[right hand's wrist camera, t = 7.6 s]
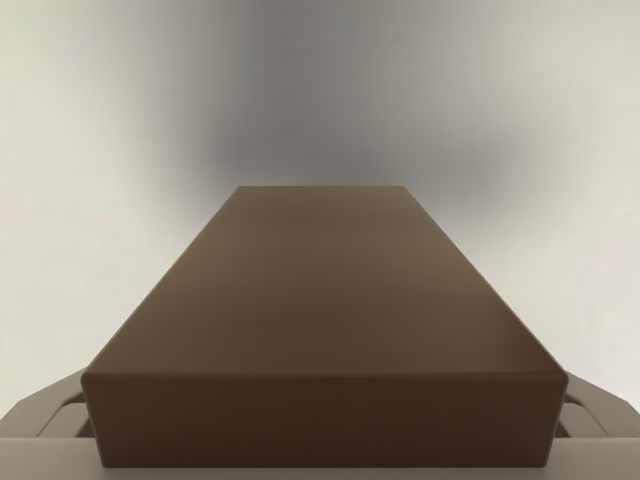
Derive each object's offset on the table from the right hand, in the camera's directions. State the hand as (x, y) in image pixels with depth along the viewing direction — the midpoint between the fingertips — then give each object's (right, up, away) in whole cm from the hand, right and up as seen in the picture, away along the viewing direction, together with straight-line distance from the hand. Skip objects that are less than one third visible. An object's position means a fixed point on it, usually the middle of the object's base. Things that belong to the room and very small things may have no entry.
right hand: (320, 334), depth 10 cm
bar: (0, -6, +6) cm, 9 cm away
